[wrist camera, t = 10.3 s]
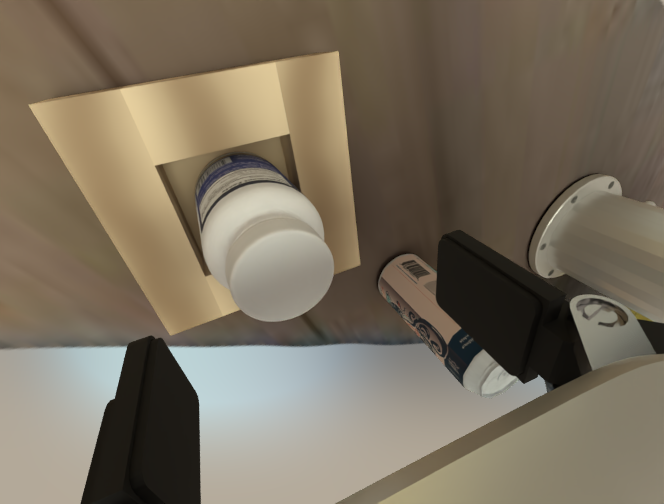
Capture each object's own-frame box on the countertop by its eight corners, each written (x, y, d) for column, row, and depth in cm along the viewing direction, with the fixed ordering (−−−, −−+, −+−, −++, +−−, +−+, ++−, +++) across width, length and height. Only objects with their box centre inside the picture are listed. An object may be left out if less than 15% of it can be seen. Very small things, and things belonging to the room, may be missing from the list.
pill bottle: (284, 230, 22) (344, 322, 14) (200, 239, 20) (216, 351, 12) (284, 149, 19) (359, 206, 11) (187, 149, 17) (197, 219, 9)
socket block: (316, 52, 18) (338, 51, 15) (342, 245, 25) (360, 265, 23) (52, 98, 14) (28, 104, 12) (171, 305, 22) (170, 335, 19)
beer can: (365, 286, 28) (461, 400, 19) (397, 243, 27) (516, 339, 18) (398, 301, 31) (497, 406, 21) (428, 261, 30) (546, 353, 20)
